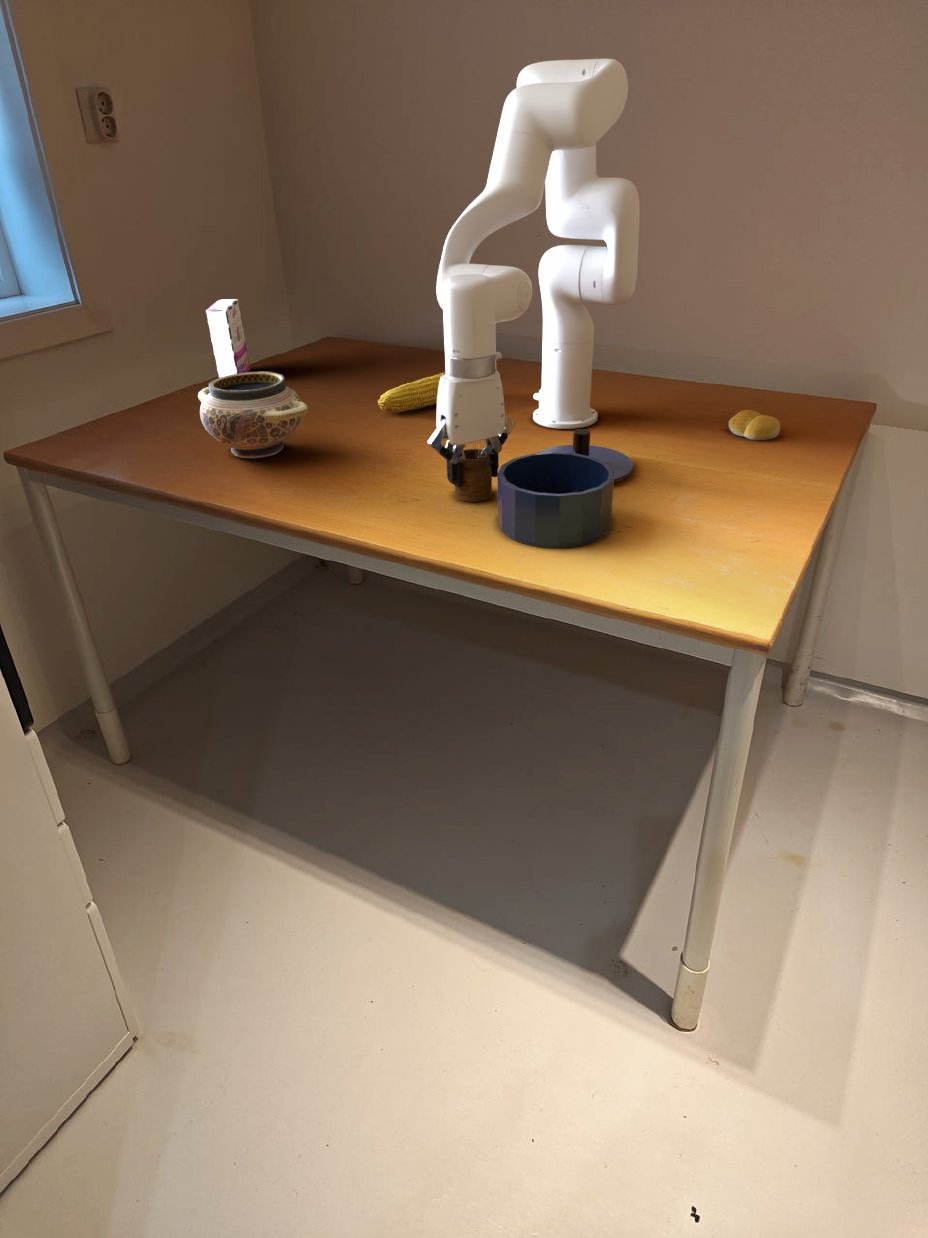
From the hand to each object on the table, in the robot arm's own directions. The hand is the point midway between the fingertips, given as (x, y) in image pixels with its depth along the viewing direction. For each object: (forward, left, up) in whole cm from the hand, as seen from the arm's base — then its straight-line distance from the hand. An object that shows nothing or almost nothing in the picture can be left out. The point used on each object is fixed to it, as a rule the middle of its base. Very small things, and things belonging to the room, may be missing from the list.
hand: (473, 478), depth 133 cm
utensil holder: (0, 0, -3) cm, 3 cm away
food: (-45, +17, -3) cm, 48 cm away
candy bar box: (-91, -8, -3) cm, 92 cm away
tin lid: (+1, +21, -2) cm, 21 cm away
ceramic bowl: (-41, -21, -3) cm, 46 cm away
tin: (+16, +4, -3) cm, 16 cm away
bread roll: (+6, +58, -3) cm, 58 cm away
